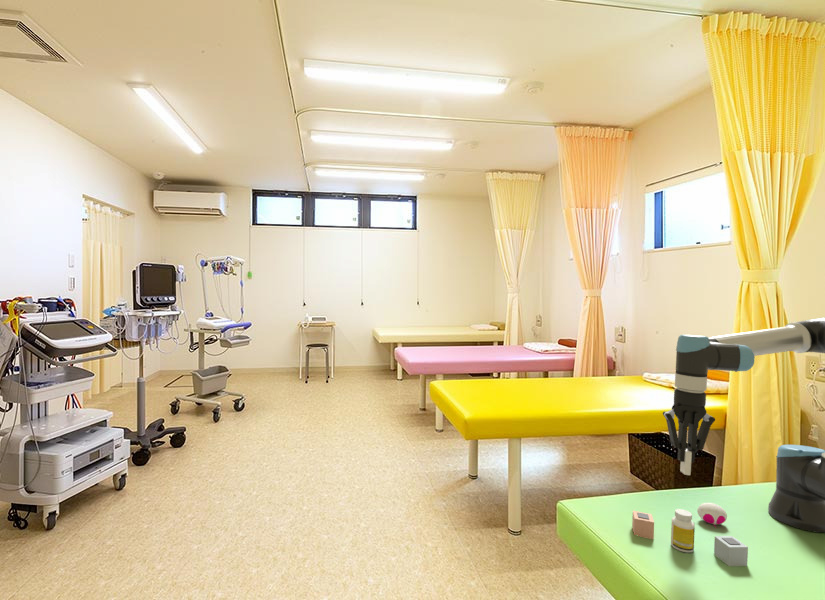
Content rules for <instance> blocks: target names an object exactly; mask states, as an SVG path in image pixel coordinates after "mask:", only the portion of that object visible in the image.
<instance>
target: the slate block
mask: <svg viewBox="0 0 825 600" xmlns="http://www.w3.org/2000/svg"><path fill="white" fill-rule="evenodd" d="M713 542H714V545H713V546H714V548H713V549H714V550H713V555H714V556H715V557H716V558H718V559H719V560H721V561H722V563H724V564H725V565H726V566H728V567H748V556H749V555H748V554H749V546H747V545H746V544H744V543H743V542H741V541H740V540H739V539H737V538H736V537H734V536H733V535H719V536H717V535H715V536H714V541H713Z"/></svg>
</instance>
